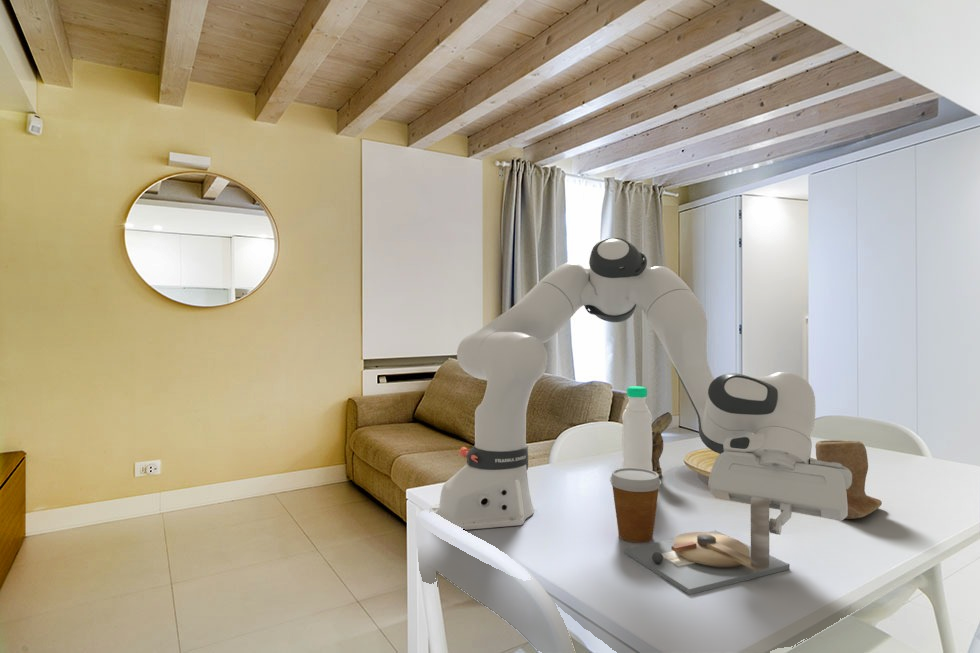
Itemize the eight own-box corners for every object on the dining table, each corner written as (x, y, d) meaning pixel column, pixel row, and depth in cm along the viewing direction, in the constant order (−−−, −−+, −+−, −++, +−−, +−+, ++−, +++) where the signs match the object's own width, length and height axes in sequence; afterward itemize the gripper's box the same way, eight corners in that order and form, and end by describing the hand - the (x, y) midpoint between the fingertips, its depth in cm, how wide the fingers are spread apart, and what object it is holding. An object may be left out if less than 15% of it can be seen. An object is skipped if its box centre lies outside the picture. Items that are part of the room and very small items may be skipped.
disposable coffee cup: (603, 527, 110) (603, 467, 110) (650, 526, 110) (650, 466, 110) (619, 547, 100) (618, 481, 100) (669, 545, 101) (669, 480, 101)
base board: (689, 594, 83) (689, 577, 83) (624, 553, 98) (624, 538, 98) (789, 569, 91) (789, 553, 91) (715, 534, 106) (715, 521, 106)
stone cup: (827, 495, 128) (827, 431, 128) (888, 509, 119) (888, 439, 119) (799, 510, 119) (799, 440, 119) (863, 526, 109) (863, 450, 109)
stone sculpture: (655, 486, 137) (654, 413, 136) (619, 472, 149) (618, 406, 148) (681, 481, 141) (681, 410, 140) (644, 468, 153) (644, 403, 152)
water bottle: (649, 486, 137) (649, 385, 136) (655, 495, 130) (654, 388, 129) (620, 485, 137) (619, 385, 137) (624, 494, 130) (624, 388, 130)
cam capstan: (653, 545, 98) (653, 477, 97) (710, 533, 103) (710, 469, 103) (731, 589, 82) (731, 508, 82) (794, 572, 87) (794, 496, 87)
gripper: (854, 475, 90) (848, 556, 82) (722, 457, 102) (706, 526, 95) (851, 454, 86) (846, 537, 78) (715, 438, 98) (698, 508, 91)
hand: (768, 531), depth 87 cm, fingers closed
